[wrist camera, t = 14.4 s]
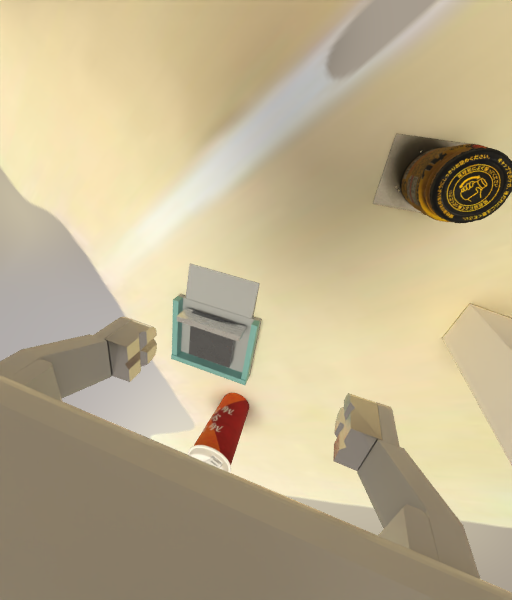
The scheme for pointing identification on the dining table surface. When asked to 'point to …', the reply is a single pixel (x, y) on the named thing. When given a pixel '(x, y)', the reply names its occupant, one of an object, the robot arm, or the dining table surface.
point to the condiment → (444, 179)
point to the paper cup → (222, 433)
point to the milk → (486, 365)
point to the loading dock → (222, 304)
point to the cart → (211, 336)
